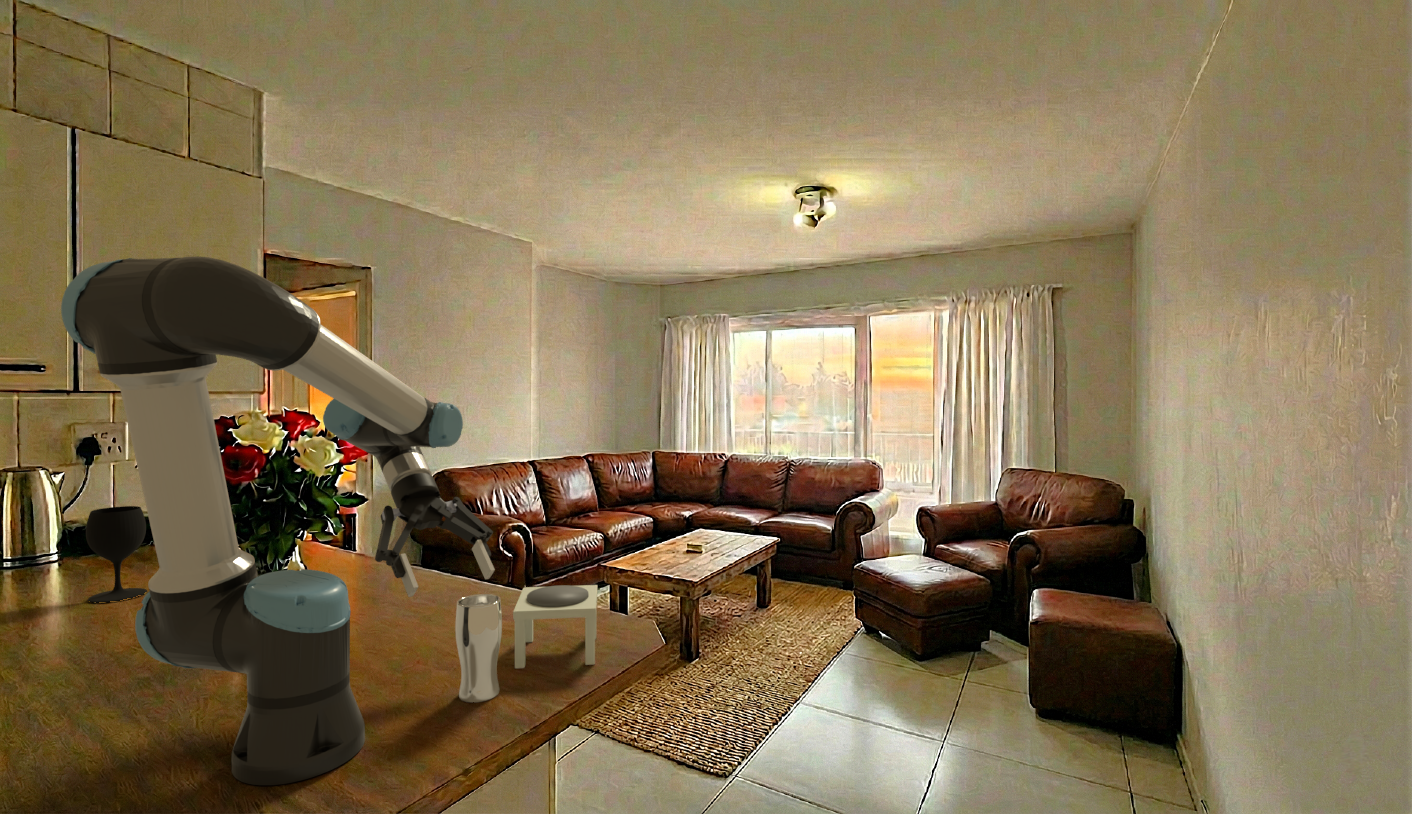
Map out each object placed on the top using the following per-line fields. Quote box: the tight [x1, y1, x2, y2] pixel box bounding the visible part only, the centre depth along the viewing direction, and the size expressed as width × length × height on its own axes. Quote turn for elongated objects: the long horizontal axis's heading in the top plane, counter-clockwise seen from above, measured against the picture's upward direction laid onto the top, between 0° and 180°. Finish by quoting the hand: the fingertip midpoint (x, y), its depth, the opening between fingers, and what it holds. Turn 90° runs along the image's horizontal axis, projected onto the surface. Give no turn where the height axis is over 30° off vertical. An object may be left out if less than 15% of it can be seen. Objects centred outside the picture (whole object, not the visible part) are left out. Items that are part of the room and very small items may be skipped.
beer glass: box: [455, 593, 503, 703], centre depth 108 cm, size 7×7×15 cm
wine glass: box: [85, 505, 148, 604], centre depth 155 cm, size 10×10×20 cm
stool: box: [512, 584, 598, 669], centre depth 125 cm, size 14×14×11 cm
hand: (453, 583), depth 114 cm, fingers open, 13 cm apart
